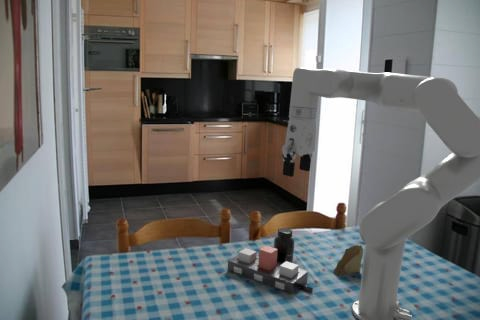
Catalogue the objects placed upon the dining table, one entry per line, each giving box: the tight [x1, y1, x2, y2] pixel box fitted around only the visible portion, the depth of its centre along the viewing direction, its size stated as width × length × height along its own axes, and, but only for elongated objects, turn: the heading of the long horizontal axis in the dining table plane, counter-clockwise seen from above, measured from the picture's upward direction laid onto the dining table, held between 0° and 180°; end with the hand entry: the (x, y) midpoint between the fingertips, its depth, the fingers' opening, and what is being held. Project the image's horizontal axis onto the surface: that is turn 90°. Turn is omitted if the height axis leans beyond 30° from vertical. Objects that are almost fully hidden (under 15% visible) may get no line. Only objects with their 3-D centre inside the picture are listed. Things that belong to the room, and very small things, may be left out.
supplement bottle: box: [273, 227, 295, 264], centre depth 144 cm, size 7×7×12 cm
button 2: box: [258, 245, 278, 271], centre depth 133 cm, size 4×4×6 cm
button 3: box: [238, 248, 258, 264], centre depth 138 cm, size 4×4×6 cm
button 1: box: [279, 261, 300, 278], centre depth 130 cm, size 4×4×6 cm
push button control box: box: [227, 253, 314, 295], centre depth 133 cm, size 27×10×4 cm, turn 56°
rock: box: [332, 244, 364, 276], centre depth 141 cm, size 11×9×10 cm
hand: (296, 172), depth 123 cm, fingers open, 9 cm apart
